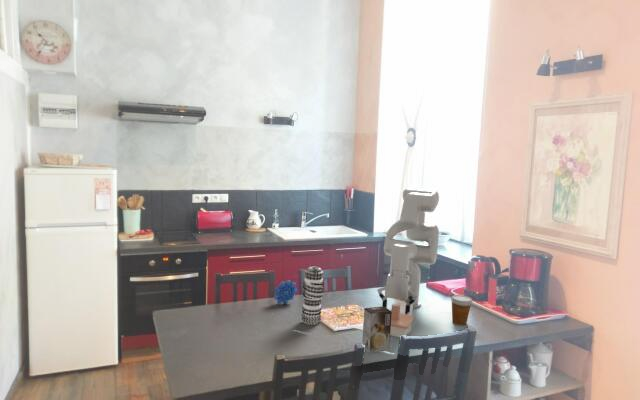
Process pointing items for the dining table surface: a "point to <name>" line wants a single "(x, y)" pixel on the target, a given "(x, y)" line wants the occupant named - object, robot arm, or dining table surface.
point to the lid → (400, 318)
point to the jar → (404, 306)
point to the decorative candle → (312, 295)
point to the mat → (357, 327)
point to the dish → (399, 331)
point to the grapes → (285, 292)
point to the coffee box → (376, 329)
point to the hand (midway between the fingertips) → (395, 311)
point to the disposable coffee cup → (460, 309)
